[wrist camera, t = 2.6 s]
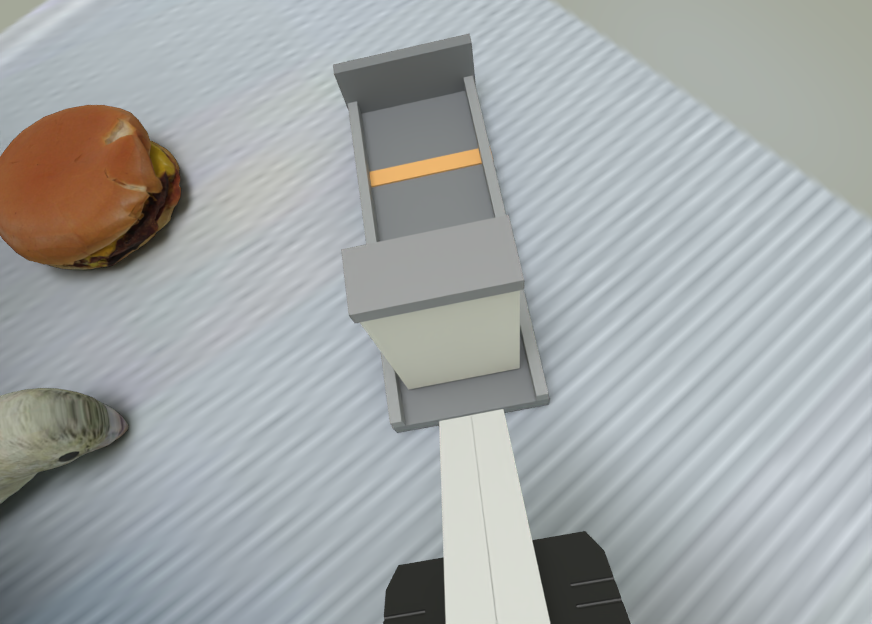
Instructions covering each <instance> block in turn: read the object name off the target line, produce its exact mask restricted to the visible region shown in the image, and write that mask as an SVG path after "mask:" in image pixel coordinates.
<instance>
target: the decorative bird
mask: <svg viewBox="0 0 872 624" xmlns="http://www.w3.org/2000/svg"><path fill="white" fill-rule="evenodd" d="M127 430H128V424H127V422H126V421H125V420H124V418H123V417H122V416H121V415H120V414H118V413H117V412H116V411H115V410H114V409H112V408H111V407H109V406H108V405H105V404H103V403H101V402H100V401H98V400H96V399H94V398H92V397H90V396H87V395H84V394H81V393H78V392H73V391H68V390H63V389H54V388H37V389H27V390H21V391H17V392H12V393H8V394H5V395H1V396H0V504H1V503H2V502H3V501H5V500H6V499H7V498H8V497H9V496H11V495H12V494H14V493H15V492H17V491H18V490H19V489H21V488H22V487H23V486H24V485H25V484H26V483H27V482H29V481H30V480H31V479H32V478H33V477H34V476H35V475H36V474H37V473H38V472H42V471H46V470H49V469H53V468H56V467H59V466H62V465H65V464H68V463H70V462H72V461H74V460H75V459H77V458H78V457H80V456H82V455H84V454H87V453H89V452H92V451H95V450H97V449H100V448H103V447H105V446H108V445H109V444H110V443H112V442H113V441H115V440H117V439H118V438H119V437H121V436H122V435H123V434H124V433H125V432H126V431H127Z"/></svg>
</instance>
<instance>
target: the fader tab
mask: <svg viewBox="0 0 872 624" xmlns="http://www.w3.org/2000/svg"><path fill="white" fill-rule="evenodd" d="M341 251H342V260H343V269H344V278H345V286H346V295H347V304H348V313H349V316H350V318H351V319H352V320H353V322H354V323H359V322H360V324H361V325H362V326H363V328H364V329H365V330H366V332H367V333H368V335H369V336H370V337H371V339H372V340H373V341H374V343H375V344H376V346H377V347H378V348H379V350H380V351H381V352H382V354H383V355H384V357H385V358H386V359H387V361H388V362H389V363H390V365H391V366H392V368H393V369H394V370H395V372H396V373H397V374H398V376H399V377H400V379H401V380H402V381H403V383H404V384H405V385H406V387H407V388H408V390H409V389H414V388H419V387H424V386H430V385H435V384H440V383H445V382H451V381H456V380H461V379H466V378H471V377H477V376H482V375H487V374H492V373H497V372H503V371H508V370H513V369H518V368H520V290H524V277H523V273H522V269H521V265H520V261H519V256H518V252H517V248H516V244H515V240H514V236H513V231H512V227H511V223H510V219H509V215H505V216H500V217H496V218H491V219H486V220H481V221H476V222H472V223H467V224H462V225H457V226H452V227H448V228H443V229H438V230H433V231H428V232H424V233H419V234H414V235H409V236H404V237H400V238H395V239H390V240H385V241H380V242H376V243H371V244H366V245H361V246H356V247H352V248H347V249H342V250H341Z"/></svg>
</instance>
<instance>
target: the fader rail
mask: <svg viewBox="0 0 872 624" xmlns="http://www.w3.org/2000/svg"><path fill="white" fill-rule="evenodd" d="M333 69H334V75H335V77H336V80H337V82H338V85H339V88H340V90H341V93H342V95H343V98H344V100H345V103H346V105H347V108H348V110H349V117H350V124H351V132H352V139H353V147H354V155H355V162H356V170H357V177H358V185H359V192H360V200H361V208H362V215H363V223H364V230H365V238H366V244H371V243H376V242H380V241H385V240H390V239H395V238H400V237H404V236H409V235H414V234H419V233H424V232H428V231H433V230H438V229H443V228H448V227H452V226H457V225H462V224H467V223H472V222H476V221H481V220H486V219H491V218H496V217H500V216H505V215H506V213H505V209H504V204H503V200H502V196H501V192H500V188H499V183H498V179H497V175H496V171H495V167H494V162H493V157H492V153H491V149H490V146H489V141H488V137H487V133H486V129H485V125H484V120H483V116H482V112H481V108H480V104H479V99H478V95H477V91H476V84H475V74H474V63H473V53H472V43H471V38H470V34H466V35H461V36H457V37H453V38H448V39H444V40H439V41H435V42H431V43H426V44H422V45H417V46H413V47H409V48H404V49H400V50H396V51H391V52H387V53H382V54H378V55H374V56H369V57H365V58H360V59H356V60H352V61H347V62H343V63H339V64H334V65H333ZM380 352H381V351H380ZM381 359H382V367H383V374H384V382H385V389H386V397H387V405H388V412H389V420H390V424H391V425H392V428H393V429H394V430H395V431H396V432H397V433H399V432H404V431H410V430H415V429H420V428H426V427H431V426H436V425H439V421H443V420H448V419H453V418H459V417H464V416H469V415H474V414H480V413H485V412H490V411H495V410H501V409H504V413H506V412H511V411H516V410H522V409H527V408H532V407H538V406H543V405H548V404H549V400H550V398H549V393H548V389H547V385H546V381H545V377H544V372H543V368H542V364H541V360H540V356H539V351H538V347H537V343H536V339H535V335H534V330H533V326H532V322H531V318H530V314H529V309H528V305H527V301H526V297H525V293H524V290H520V368H518V369H513V370H508V371H503V372H497V373H492V374H487V375H482V376H477V377H471V378H466V379H461V380H456V381H451V382H445V383H440V384H435V385H430V386H424V387H419V388H414V389H409V390H408V388H407V387H406V385H405V384H404V383H403V381H402V380H401V379H400V377H399V376H398V374H397V373H396V372H395V370H394V369H393V368H392V366H391V365H390V363H389V362H388V361H387V359H386V358H385V357H384V355H383V354H382V352H381Z"/></svg>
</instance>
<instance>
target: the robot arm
mask: <svg viewBox="0 0 872 624" xmlns="http://www.w3.org/2000/svg"><path fill="white" fill-rule="evenodd" d="M439 428H440V459H441V491H442V522H443V553H444V558H438V559H432V560H426V561H421V562H415V563H409V564H403V565H398V567H397V569H396V571H395V573H394V575H393V577H392V579H391V581H390V583H389V585H388V587H387V589H386V596H385V609H384V622H383V624H631V623H630V621H629V618H628V615H627V612H626V610H625V607H624V604H623V602H622V600H621V596H620V593H619V590H618V587H617V585H616V582H615V581H614V577H613V574H612V571H611V568H610V565H609V563H608V560H607V557H606V554H605V552H604V550H603V549H602V548H601V547H600V546H599V545H598V544H597V543H596V542H595V541H594V540H593V539H592V538H591V537H590V536H589V535H588V534H587V533H586V532H585V531H583V532H578V533H572V534H566V535H560V536H555V537H549V538H543V539H537V540H532V537H531V533H530V528H529V524H528V519H527V515H526V510H525V505H524V501H523V496H522V492H521V487H520V483H519V478H518V473H517V469H516V464H515V460H514V455H513V451H512V446H511V441H510V437H509V432H508V428H507V423H506V419H505V414H504V409H501V410H495V411H490V412H485V413H480V414H474V415H469V416H464V417H459V418H453V419H448V420H443V421H439Z"/></svg>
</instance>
